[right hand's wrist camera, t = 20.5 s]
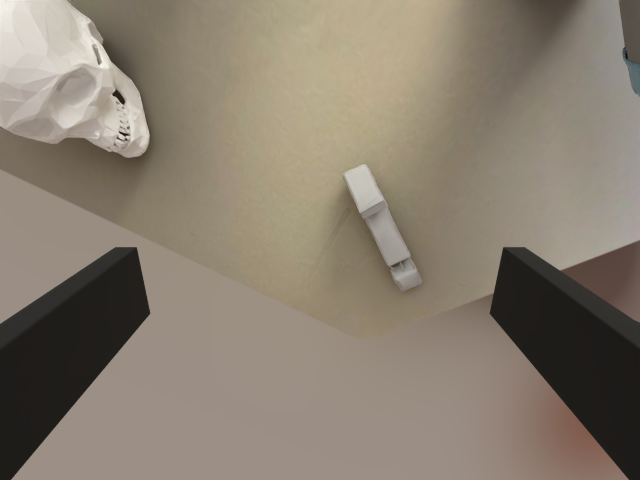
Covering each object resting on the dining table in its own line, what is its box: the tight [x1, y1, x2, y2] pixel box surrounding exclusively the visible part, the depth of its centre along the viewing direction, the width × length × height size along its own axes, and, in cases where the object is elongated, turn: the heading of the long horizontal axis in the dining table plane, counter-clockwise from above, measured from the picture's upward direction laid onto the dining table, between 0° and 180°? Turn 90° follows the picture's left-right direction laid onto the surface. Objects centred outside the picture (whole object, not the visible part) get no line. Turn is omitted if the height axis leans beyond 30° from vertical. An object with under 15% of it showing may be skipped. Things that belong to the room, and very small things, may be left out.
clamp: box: [343, 164, 422, 292], centre depth 47 cm, size 20×4×7 cm, turn 28°
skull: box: [0, 0, 150, 158], centre depth 36 cm, size 13×22×16 cm, turn 39°
